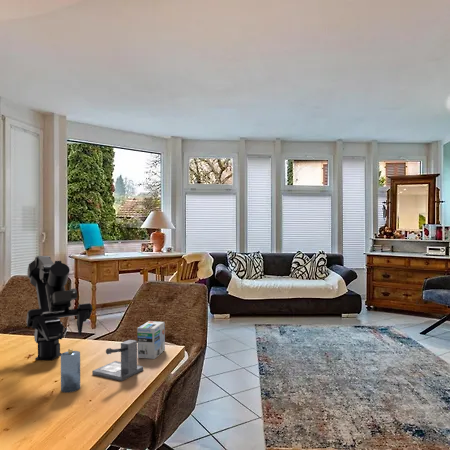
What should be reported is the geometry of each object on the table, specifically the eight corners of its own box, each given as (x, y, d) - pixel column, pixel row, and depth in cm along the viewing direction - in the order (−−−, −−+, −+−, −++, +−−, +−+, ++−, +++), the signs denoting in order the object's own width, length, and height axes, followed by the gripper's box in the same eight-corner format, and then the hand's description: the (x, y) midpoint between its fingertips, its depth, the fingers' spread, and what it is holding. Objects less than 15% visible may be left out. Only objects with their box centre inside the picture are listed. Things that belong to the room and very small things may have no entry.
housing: (57, 392, 108) (57, 352, 109) (66, 384, 114) (66, 346, 114) (75, 392, 108) (74, 352, 108) (83, 385, 113) (83, 346, 113)
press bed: (81, 379, 117) (80, 344, 117) (115, 364, 130) (114, 332, 130) (110, 386, 112) (110, 349, 112) (143, 370, 125) (143, 337, 125)
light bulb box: (154, 359, 135) (154, 328, 135) (136, 358, 136) (136, 327, 136) (165, 350, 146) (165, 321, 146) (148, 349, 147) (148, 320, 147)
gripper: (27, 283, 116) (33, 327, 107) (90, 278, 127) (101, 318, 118) (23, 305, 123) (29, 348, 114) (84, 298, 133) (94, 338, 124)
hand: (64, 337), depth 117 cm, fingers open, 9 cm apart
